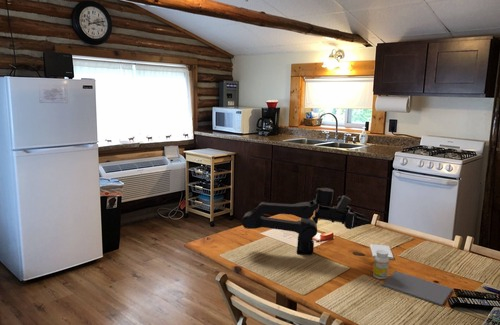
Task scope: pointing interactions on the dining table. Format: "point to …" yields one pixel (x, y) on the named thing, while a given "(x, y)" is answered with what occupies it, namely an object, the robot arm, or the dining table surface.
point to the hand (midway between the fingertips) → (368, 219)
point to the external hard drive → (381, 247)
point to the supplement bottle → (381, 264)
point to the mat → (418, 288)
